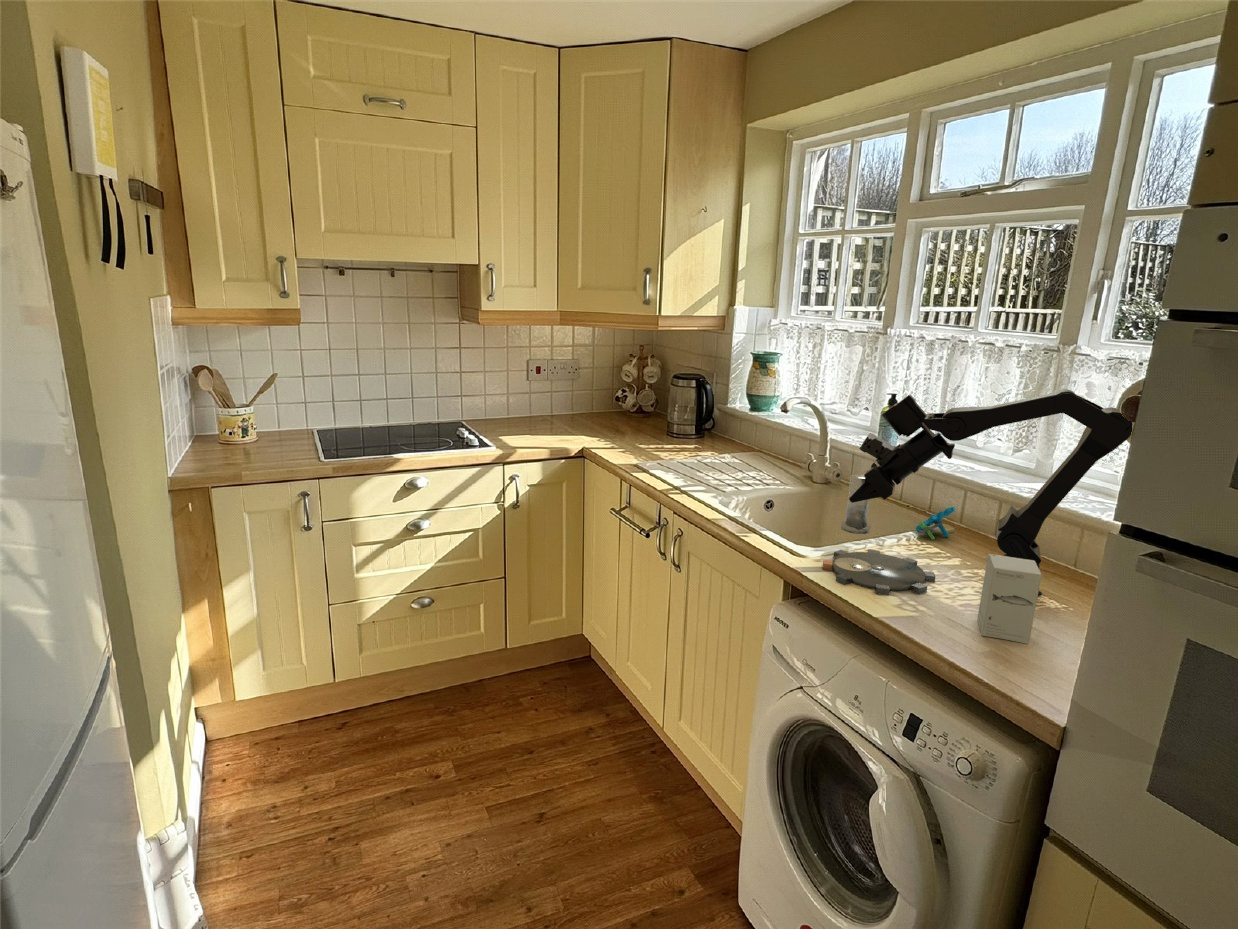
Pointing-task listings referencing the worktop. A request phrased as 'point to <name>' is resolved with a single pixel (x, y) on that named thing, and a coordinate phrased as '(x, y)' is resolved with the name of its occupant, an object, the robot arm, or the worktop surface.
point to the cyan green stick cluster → (935, 522)
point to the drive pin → (856, 510)
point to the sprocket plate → (879, 572)
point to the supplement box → (1009, 598)
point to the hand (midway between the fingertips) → (852, 497)
